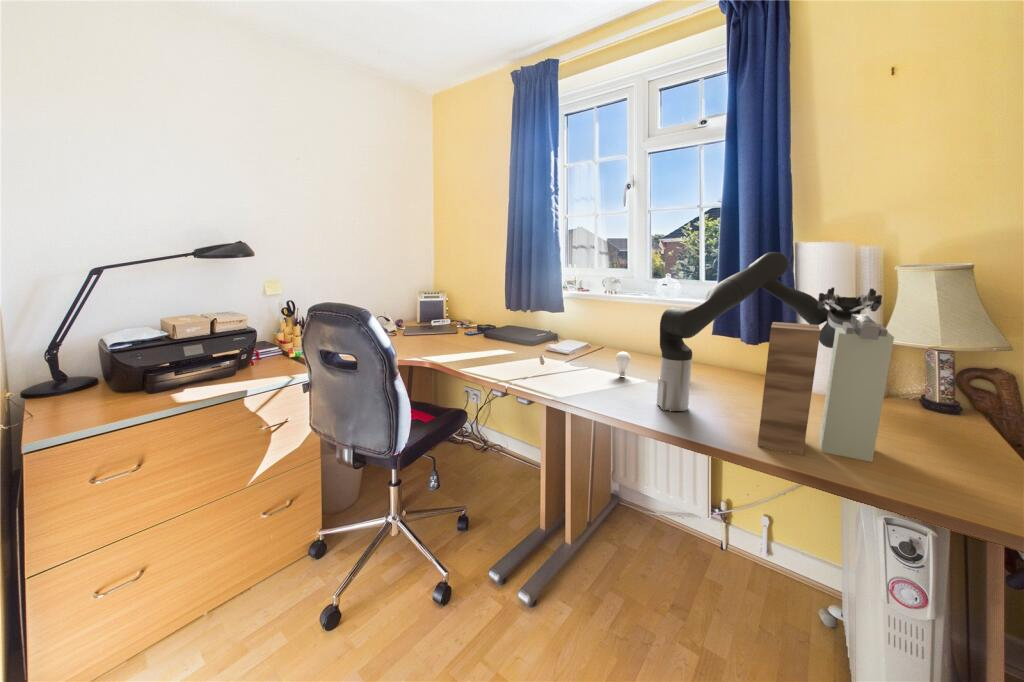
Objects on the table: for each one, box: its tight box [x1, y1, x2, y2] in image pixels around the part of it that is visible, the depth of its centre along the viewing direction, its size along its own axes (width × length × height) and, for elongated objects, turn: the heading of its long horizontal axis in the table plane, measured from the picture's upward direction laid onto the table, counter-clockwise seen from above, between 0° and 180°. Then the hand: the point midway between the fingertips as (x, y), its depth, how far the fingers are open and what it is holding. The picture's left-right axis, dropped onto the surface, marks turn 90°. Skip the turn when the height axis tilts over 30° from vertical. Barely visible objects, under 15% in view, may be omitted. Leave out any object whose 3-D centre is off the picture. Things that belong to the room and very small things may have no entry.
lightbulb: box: [614, 351, 632, 377], centre depth 173 cm, size 6×6×11 cm
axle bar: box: [850, 313, 880, 340], centre depth 102 cm, size 22×3×3 cm, turn 146°
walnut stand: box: [757, 321, 821, 456], centre depth 109 cm, size 10×10×32 cm
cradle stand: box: [819, 322, 895, 463], centre depth 105 cm, size 10×10×32 cm
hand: (852, 290), depth 116 cm, fingers open, 8 cm apart
